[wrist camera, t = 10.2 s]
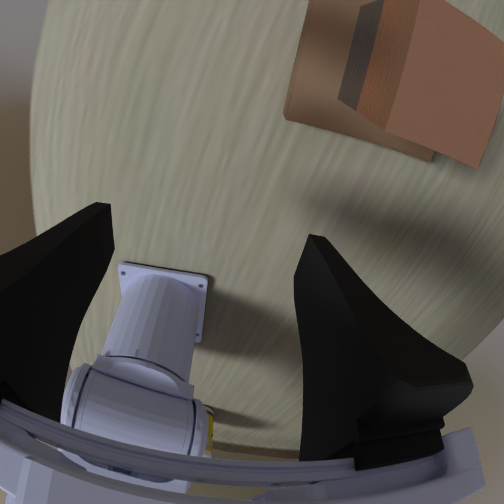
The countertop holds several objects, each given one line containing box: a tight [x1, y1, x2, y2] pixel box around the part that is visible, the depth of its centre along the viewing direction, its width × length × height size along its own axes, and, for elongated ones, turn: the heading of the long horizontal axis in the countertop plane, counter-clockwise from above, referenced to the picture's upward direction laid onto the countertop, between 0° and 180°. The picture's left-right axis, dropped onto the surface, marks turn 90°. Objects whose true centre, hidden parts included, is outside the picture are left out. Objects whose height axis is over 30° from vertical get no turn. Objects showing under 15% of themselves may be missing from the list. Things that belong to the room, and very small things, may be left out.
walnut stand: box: [283, 0, 435, 162], centre depth 14 cm, size 10×10×2 cm
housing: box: [337, 0, 504, 169], centre depth 11 cm, size 5×6×7 cm
